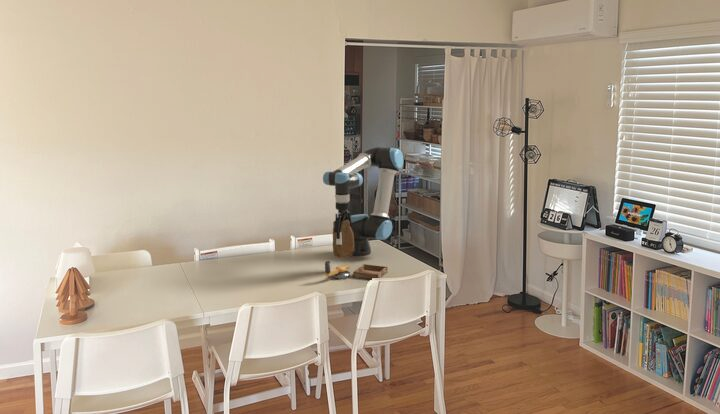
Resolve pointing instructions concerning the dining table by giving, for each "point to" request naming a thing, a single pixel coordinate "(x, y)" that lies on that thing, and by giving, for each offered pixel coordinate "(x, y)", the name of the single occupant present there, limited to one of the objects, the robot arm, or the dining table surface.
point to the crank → (335, 271)
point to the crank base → (341, 275)
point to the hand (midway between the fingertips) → (343, 241)
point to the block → (344, 241)
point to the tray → (370, 271)
